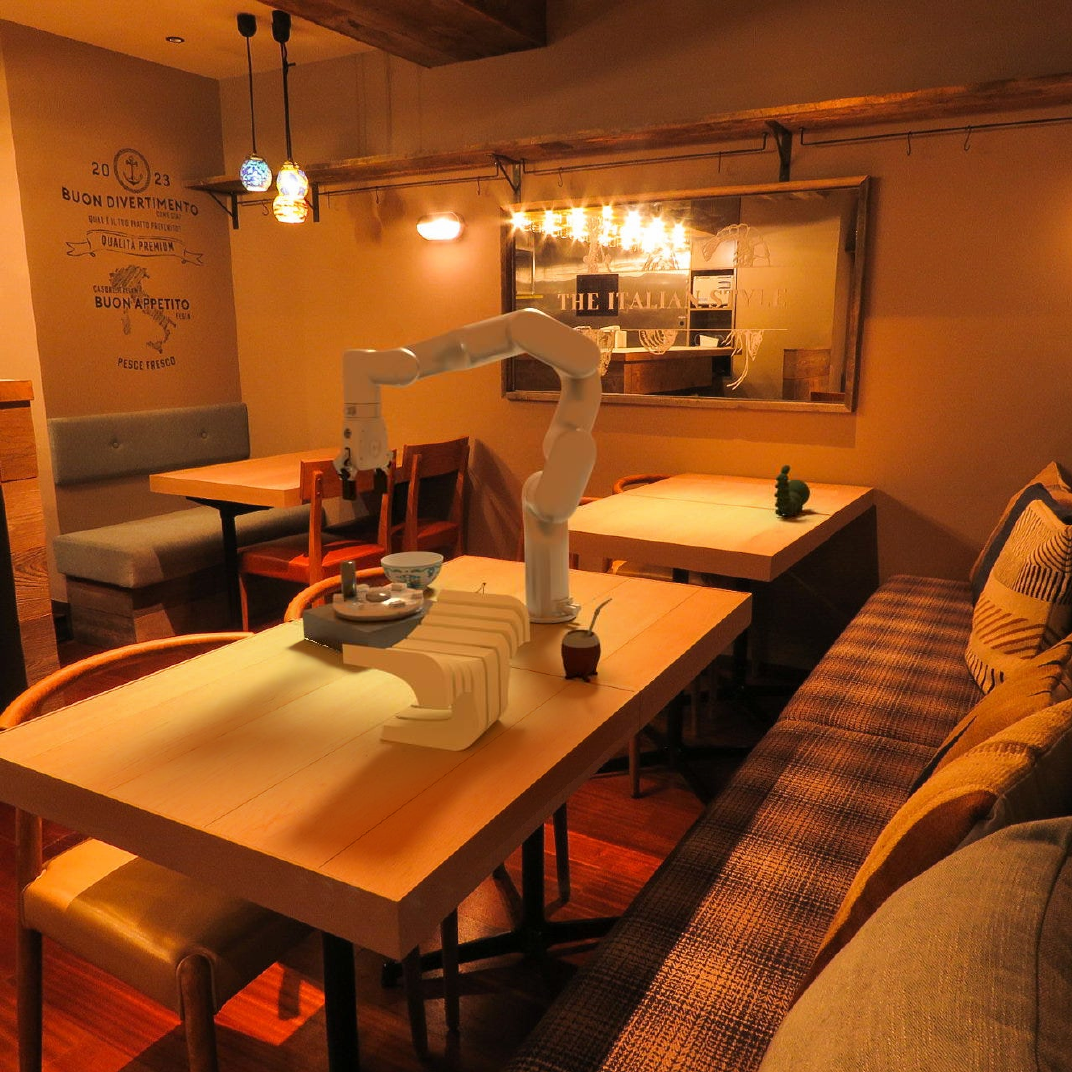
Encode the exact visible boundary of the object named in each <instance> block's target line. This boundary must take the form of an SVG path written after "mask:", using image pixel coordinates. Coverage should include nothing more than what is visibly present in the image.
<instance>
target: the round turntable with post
mask: <svg viewBox="0 0 1072 1072" xmlns="http://www.w3.org/2000/svg"><path fill="white" fill-rule="evenodd" d="M339 564H340V566H339V567H340V581H341V584H340V585H341V593H334V594H333V596H332V603H333V607H334V613H335V615H337V616H338V617H341V618H344V619H348V620H355V621H383V620H392V619H398V618H402V617H406V616H410V615H412V614H415V613H417V612H419V611H420V610H422V609H423V607H424V600H423V598H424V591H423V590H414V589H410V588H407V583H397V582H396V583H394V584H393V583H392V584H391V585H390V586H374V587H370V585H368V584H366V583H362V584H358V583H357V570H356V569H357V568H356V561H355V560H349V559H348V560H347V559H346V560H342V561H340V562H339Z"/></svg>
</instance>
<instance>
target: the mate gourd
mask: <svg viewBox="0 0 1072 1072" xmlns="http://www.w3.org/2000/svg"><path fill="white" fill-rule="evenodd" d="M612 599H613V598H612V597H611V598H609V599H608V600H607V599H606V600H605V601H604V602H602V603H601V604H599V606H598V607H597V608H595V610H594V613H593V618H592V620H591V622H590V625H589V628H588V629H583V628H582V629H573V630H570V631H567V632H566V633H565V634H564V636H563V637H562V640H561V645H560V653H561V654H560V655H561V659H562V667H563V670H564V673H565V675H564V680H567V681H568V680H574V679H580V680H582V681H583V682H584V683H586V684H587V683H590V682H591V679H590V678H589V677H593V676H598V675H599V674H598V671H597V669H598V664H599V661H600V658H601V654H602V649H601V642H600V638H599V636H598V635H597V633H596V632H594V631H593V628H594V626H595V623H596V620H597V618H598V616H599V614H600V612H601V610H602V608H604V606H606V605H607V604H608V603H610V602H611V601H612Z"/></svg>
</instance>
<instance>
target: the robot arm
mask: <svg viewBox="0 0 1072 1072" xmlns="http://www.w3.org/2000/svg"><path fill="white" fill-rule="evenodd" d="M525 353H526V354H528V355H530V356H531V357H534V358H535V359H537V360H539V361H541V362H542V363H544V364H546V365H548V366H550V367H552V368H553V370H554V371H555V372H556V374H557V375H558V377H559V380H560V383H561V391H560V396H559V398H558V399H559V400H558V403H557V407H556V410H555V412H554V415H553V417H552V420H551V421H550V424H549V427H548V430H547V432H546V434H545V436H544V439H543V443H542V453H543V456H544V457H545V459H546V462H545V464H544V468H543V470H539V471H537V472H535V473H532V474H531V475H530V476H529V477H527V479H526V480H525V482H524V483H523V486H522V489H521V508H522V516H523V530H524V531H523V535H524V537H523V538H524V571H525V572H524V577H525V578H524V579H525V581H524V582H525V584H524V585H525V606H526V608H527V610H528V613H529V619H530V623H535V624H536V623H537V624H557V623H562V622H567V621H570V620H573V619H574V618H575V617H577V616H578V615H579V612H581V611H582V606H581V605H580V604H575V603H574V596H572V595H570V557H569V556H570V555H569V554H570V549H569V547H570V537H569V536H570V533H569V519H570V518H571V517H572V516H573V515H574V514H575V512H576V511H577V509H578V508H579V504H580V503H581V500H582V498H583V494H584V492H585V490H586V488H587V485H588V482H589V480H590V477H591V474H592V472H593V470H594V469H593V468H594V466H595V464H596V459H597V454H598V453H597V445H596V441H595V439H594V437H593V435H592V434H591V432H592V430H593V428H594V425H595V422H596V418H597V415H598V413H599V409H600V406H601V401H602V396H603V387H602V386H603V385H602V380H601V375H600V372H599V367H600V364H601V361H602V359H601V358H602V355H601V350H600V348H599V345H598V343H596V342H595V341H594V339H592V338H590V337H589V336H587V335H585V334H584V333H582V332H580V331H578V330H576V329H574V328H572V327H571V326H569V325H567V324H564V323H563V322H561V321H559V320H557V319H556V318H553V317H551V316H550V315H548V314H546V313H544V312H543V311H540V310H538V309H535V308H529V307H528V308H522V309H517V310H515V311H511V312H507V313H505V314H501V315H497V316H495V317H491V318H487V319H484V320H481V321H477V322H473V323H470V324H466V325H464V326H460V327H456V328H453V329H452V330H451V329H450V330H449V331H448V332H445V333H443V334H439V335H436V336H434V337H431V338H427V339H424V340H420V341H418V342H414V343H410V344H407V345H406V344H405V345H403V346H400V347H395V348H392V349H387V350H386V349H384V350H375V349H365V348H363V349H358V348H356V349H354V348H353V349H346V350H345V351H343V353H342V354H341V355H342V356H341V371H342V372H341V373H342V374H341V376H342V397H343V398H342V399H343V401H342V402H343V410H342V413H343V420H342V427H341V436H340V441H341V442H340V453H339V454H338V455H337V456H336V457H334V459H332V463H333V466H334V468H335V471H336V472H335V473H336V474H337V475H338V476H339V477H338V478H339V480H340V481H341V491H342V493H341V495H342V500H345V501H352V502H354V501H357V499H358V494H357V492H358V491H357V480H355V478H356V475H357V473H358V471H368V470H373V471H374V472H375V473H373V493H375V494H379V495H387V494H388V493H389V491H388V488H389V487H388V484H389V483H388V475H389V474H390V468H391V466H392V465H393V464H392V463H393V462H392V461H393V458H394V451H392V450H391V449H390V448H389V437H388V431H387V426H386V422H385V421H386V420H385V418H383V409H382V408H383V406H382V405H383V403H382V402H383V400H382V386H388V387H397V388H404V387H409V386H410V385H413V384H414V383H415V382H417V381H419V380H422V379H426V378H429V377H432V376H436V375H440V374H444V373H450V372H455V371H456V372H457V371H458V372H459V371H466V370H471V369H475V368H478V367H483V366H485V365H488V364H492V363H495V362H498V361H499V362H500V361H501V360H505V359H508V358H512V357H516V356H519V355H522V354H525Z"/></svg>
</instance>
